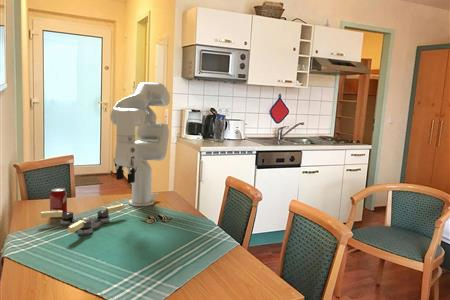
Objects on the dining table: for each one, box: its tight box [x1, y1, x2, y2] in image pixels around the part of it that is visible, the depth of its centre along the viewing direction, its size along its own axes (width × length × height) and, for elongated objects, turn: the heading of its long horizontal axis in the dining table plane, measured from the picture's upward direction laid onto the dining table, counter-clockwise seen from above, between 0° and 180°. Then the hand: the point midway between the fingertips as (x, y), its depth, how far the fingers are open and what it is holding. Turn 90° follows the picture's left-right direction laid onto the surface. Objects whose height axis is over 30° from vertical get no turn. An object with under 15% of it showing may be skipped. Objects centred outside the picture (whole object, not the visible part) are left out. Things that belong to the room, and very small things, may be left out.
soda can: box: [49, 187, 68, 219], centre depth 166 cm, size 7×7×12 cm
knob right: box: [38, 210, 74, 221], centre depth 155 cm, size 13×4×4 cm, turn 109°
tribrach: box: [60, 215, 110, 236], centre depth 157 cm, size 17×19×3 cm
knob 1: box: [67, 220, 91, 234], centre depth 144 cm, size 13×4×4 cm, turn 169°
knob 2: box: [97, 204, 125, 219], centre depth 165 cm, size 13×4×4 cm, turn 139°
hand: (125, 180), depth 161 cm, fingers open, 7 cm apart
